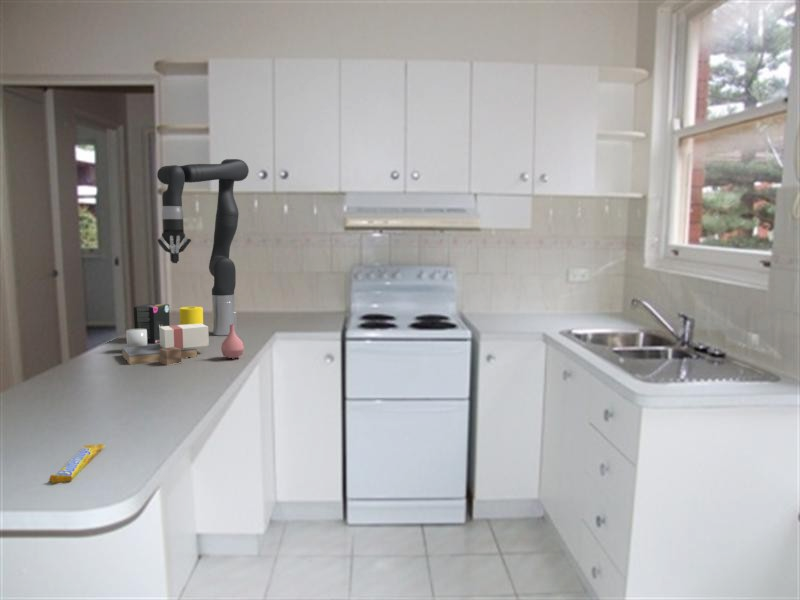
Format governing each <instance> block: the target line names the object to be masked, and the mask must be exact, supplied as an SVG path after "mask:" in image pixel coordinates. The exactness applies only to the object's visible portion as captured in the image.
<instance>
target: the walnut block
mask: <svg viewBox="0 0 800 600" xmlns="http://www.w3.org/2000/svg"><path fill="white" fill-rule="evenodd" d="M179 362H181V363H182V359H181V349H179V348H176V347H170V348H163V349H160V361H159V363H160V364H161V363H162V365H164V364H165V365H164V366H167V365H168V366H170V365H169V364H173V363H179ZM179 364H180V363H179Z"/></svg>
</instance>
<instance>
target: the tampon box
mask: <svg viewBox="0 0 800 600" xmlns="http://www.w3.org/2000/svg"><path fill="white" fill-rule="evenodd" d="M133 319H134V320H133V322H134V329H147V344H159V343H160V330H159V327H161V326H171V325H170V322H171V321H170V304H167V303H165V304H162V303H147V304H146V303H145V304H141V305H135V306H133Z"/></svg>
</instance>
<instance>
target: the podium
mask: <svg viewBox="0 0 800 600" xmlns="http://www.w3.org/2000/svg"><path fill="white" fill-rule="evenodd" d="M160 349H163V348H162V347H161V346H160V343H154V344H148V345H144V346H134V347H127V346H125V347H121V353H122V355H121V357H123V358H124V359H125V361H126V360H127V361H126V362H127V364H129V365H136V364H137V365H138V364H145V363H146V364H147V363H154V362H160ZM180 349H181V358H184V359H187V358H186V357H193V358H197V357H198V348H197V347H190V348H180ZM196 356H197V357H196Z"/></svg>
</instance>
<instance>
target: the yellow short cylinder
mask: <svg viewBox="0 0 800 600" xmlns="http://www.w3.org/2000/svg"><path fill="white" fill-rule="evenodd" d="M200 323H202V324H204V308H203V306H182V307H179V325H187V324H200Z"/></svg>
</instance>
